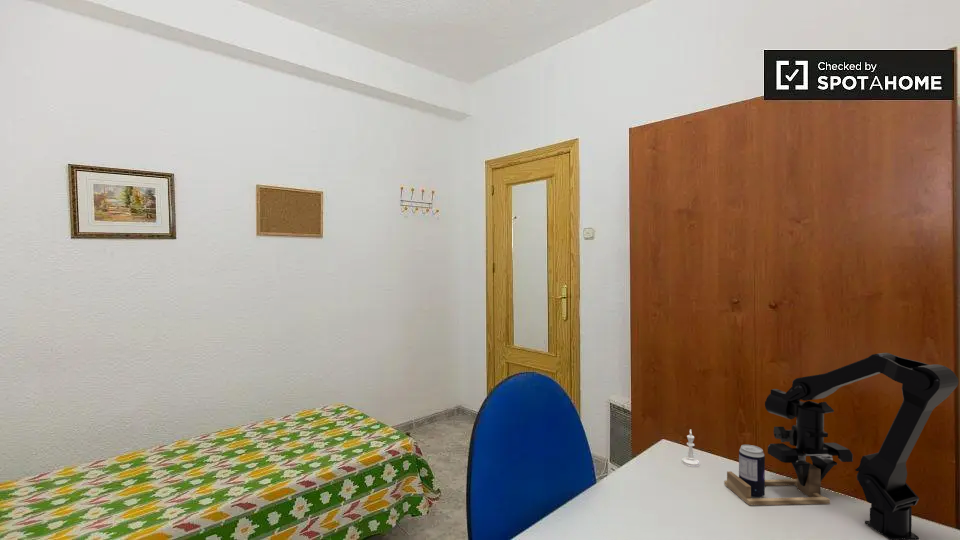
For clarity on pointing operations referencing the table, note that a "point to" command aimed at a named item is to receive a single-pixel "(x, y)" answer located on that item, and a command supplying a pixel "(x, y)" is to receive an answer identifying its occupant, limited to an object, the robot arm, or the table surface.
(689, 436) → the chess piece
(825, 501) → the wooden frame
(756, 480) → the beverage can
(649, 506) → the table surface
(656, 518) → the table surface
